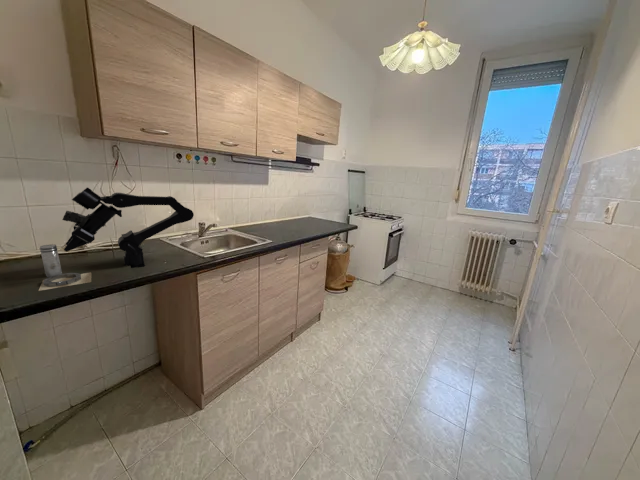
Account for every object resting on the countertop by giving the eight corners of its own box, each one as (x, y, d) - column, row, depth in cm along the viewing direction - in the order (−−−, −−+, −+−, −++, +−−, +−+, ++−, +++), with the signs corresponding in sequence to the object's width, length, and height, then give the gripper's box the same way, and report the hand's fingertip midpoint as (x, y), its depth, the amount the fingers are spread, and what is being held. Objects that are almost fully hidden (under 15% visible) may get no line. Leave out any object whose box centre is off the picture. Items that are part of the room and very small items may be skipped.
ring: (81, 274, 97) (81, 271, 97) (80, 282, 90) (80, 279, 90) (46, 279, 91) (45, 276, 91) (42, 288, 84) (41, 285, 84)
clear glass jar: (63, 274, 98) (56, 243, 95) (62, 277, 95) (55, 246, 92) (47, 276, 96) (40, 245, 93) (45, 280, 93) (38, 248, 90)
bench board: (91, 274, 99) (91, 272, 99) (91, 284, 91) (91, 281, 91) (43, 282, 91) (43, 279, 91) (38, 293, 83) (38, 290, 83)
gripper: (78, 200, 102) (44, 229, 97) (76, 206, 88) (36, 240, 84) (106, 218, 109) (76, 246, 104) (108, 226, 95) (73, 259, 91)
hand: (66, 247), depth 96 cm, fingers open, 9 cm apart
